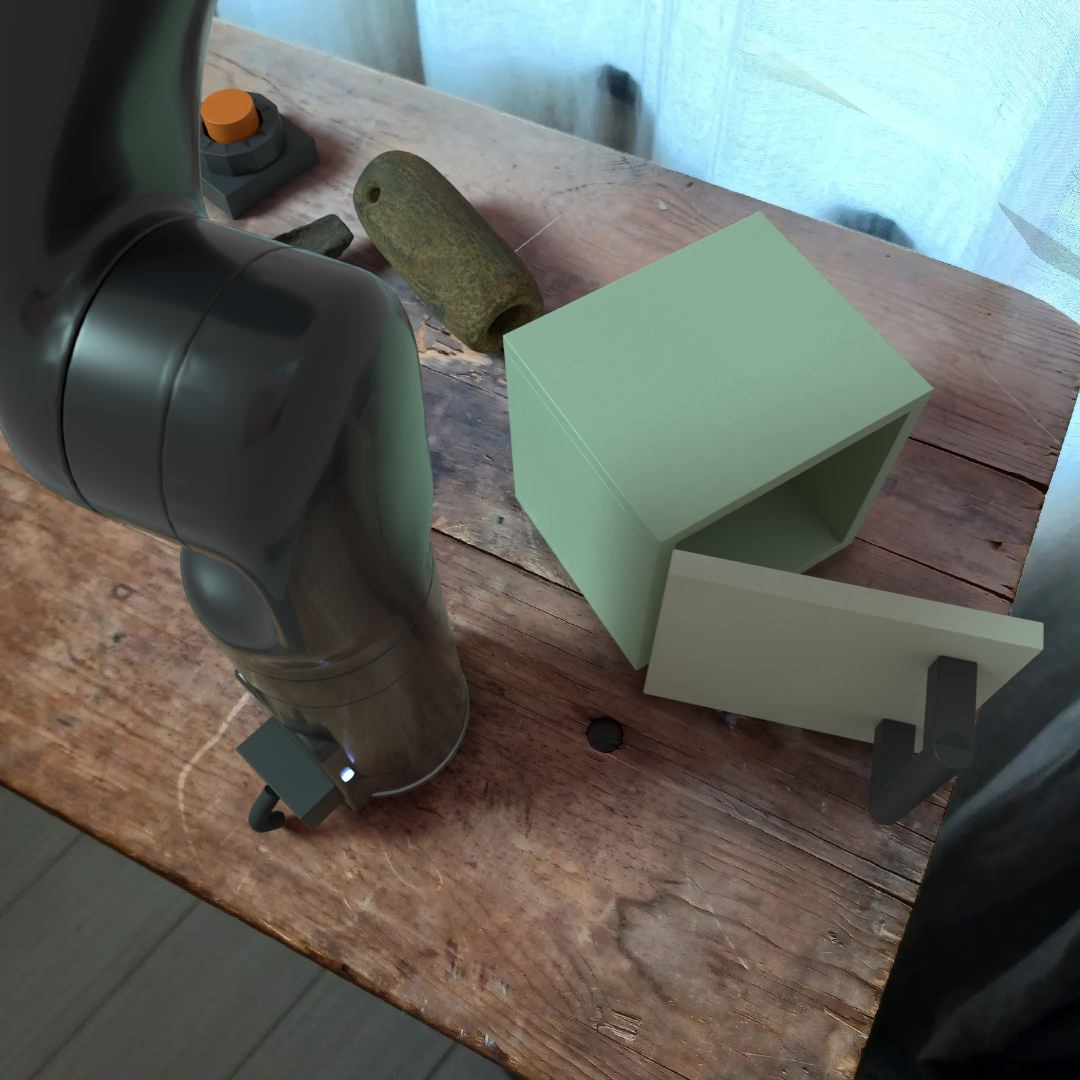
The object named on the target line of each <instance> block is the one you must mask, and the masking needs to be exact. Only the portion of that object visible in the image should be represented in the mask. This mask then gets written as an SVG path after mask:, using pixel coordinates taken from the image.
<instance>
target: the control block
mask: <svg viewBox="0 0 1080 1080" xmlns="http://www.w3.org/2000/svg"><path fill="white" fill-rule="evenodd" d="M244 91H245V92H246V93H248V94H249V95H250V96H251V98H252V99H253V102H254V106H255V109H256V112H257V115H258V118H259V123H260V124H259V129H258V131H257V132H256V134H254V135H253V136H251V137H250V138H248V139H247V140H245V141H241V142H236V143H231V144H225V143H219V142H216V141H215V140H213V139H212V138H211V137H210V135H209V133H208V130H207V128H206V125H205V122H204V120H203V117H202V114H201V116H200V167H201V183H202V192H203V198H206V199H207V200H208V201H209V202H210V203H212V204H213V205H214V206H216V208H218V209H219V210H220V211H222V212H223V213H224V214H225V215H227V216H228V217H229V218H231V219H232V220H233V221H236V220H237V219H239V218H240V217H242V216H243V215H245V214H247V212H249V211H250V210H252V209H254V208H255V207H256V206H258V205H259V204H260V203H262V202H264V201H265V200H266V199H268V198H269V197H271V196H272V195H274V194H275V193H277V192H278V191H280V190H281V189H282V188H284V187H285V186H287V185H289V184H290V183H291V182H293V181H294V180H296V179H298V178H299V177H300V176H302V175H303V174H305V173H306V172H307V171H310V170H311V169H312V168H313V167H315V166H316V165H317V164H319V163H320V162H321V160H320V155H319V152H318V148H317V144H316V140H315V138H314V137H313V136H312V135H311V134H310V133H308V132H307V131H305V130H304V129H302V128H301V127H300V126H298V125H297V124H296V123H294V122H293V121H291V120H290V119H288V118H287V117H286V116H285V115H283V114H282V113H280V112H279V108H278V106H277V104H276V103H275V102H273V101H271V99H269V98H267V97H266V96H265V95H263V94H262V93H259V92H252V91H246V90H244ZM202 103H203V101H201V105H202Z"/></svg>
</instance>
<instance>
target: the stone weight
mask: <svg viewBox="0 0 1080 1080" xmlns="http://www.w3.org/2000/svg"><path fill="white" fill-rule="evenodd" d="M352 203H353V207H354V211H355V213H356V216H357V218H358V221H359V223H360V224H361V226H362V229H363V230H364V231H365V234H366V235H367V236H368V238H369V239H370V241H371V242H372V243H373V245H374V246H375V248H376V249H377V250H378V251H379V252H380V254H381V255H382V256H383V257H384V259H385V260H387V262H388V263H389V264H390V265H391V267H392V268H393V269H394V270H395V272H396V273H397V274H398V275H399V277H401V279H402V280H403V281H404V282H405V284H407V285H408V286H409V288H410V289H411V290H412V291H413V292H414V293H415V295H416V296H417V297H418V299H419V300H420V301H421V302H422V303H423V304H424V305H425V307H426V308H427V309H428V310H429V311H430V313H431V314H432V315H433V316H434V317H435V319H436V320H438V321H439V322H440V323H441V324H442V326H444V327H445V329H447V330H448V331H449V332H450V333H451V334H452V335H453V336H454V337H455V338H456V339H457V340H458V341H460V342H461V343H462V344H463V345H464V346H466V347H467V348H468V349H469V350H471V351H473V352H475V353H478V354H490V353H493V352H496V351H498V350H500V349H502V348H504V342H503V335H505V334H507V333H509V332H511V331H513V330H515V329H517V328H519V327H522V326H524V325H526V324H528V323H530V322H532V321H534V320H536V319H538V318H540V317H542V316H543V313H544V310H545V302H544V297H543V293H542V290H541V287H540V286H539V284H538V282H537V280H536V278H535V276H534V274H533V273H532V272H531V270H530V269H529V267H528V265H527V264H526V263H525V262H524V260H522V258H521V257H520V256H519V254H518V253H517V252H516V251H515V250H514V249H513V247H512V246H511V245H510V244H509V243H507V241H506V240H505V239H504V238H503V237H502V236H501V235H500V234H499V233H498V232H497V230H496V229H495V228H493V227H492V225H491V223H489V222H488V221H487V220H486V219H485V217H484V216H482V214H480V213H479V212H478V210H477V209H476V208H475V207H474V205H472V203H471V202H470V201H469V200H468V199H467V198H466V196H464V195H463V194H462V192H461V191H459V189H457V187H456V186H455V185H454V184H452V182H450V180H449V179H447V177H446V176H444V175H443V174H442V173H441V172H440V171H439V170H438V169H437V168H436V167H435V166H433V164H431V163H430V162H429V161H427V160H426V159H424V158H423V157H422V156H419V155H417V154H414V153H412V152H409V151H405V150H398V149H393V150H387V151H385V152H382V153H380V154H378V155H377V156H376V157H374V158H372V160H371V161H370V162H369V163H368V164H367V165H366V166H365V167H364V169H362V172H361V174H360V175H359V177H358V179H357V181H356V183H355V185H354V188H353V192H352Z"/></svg>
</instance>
